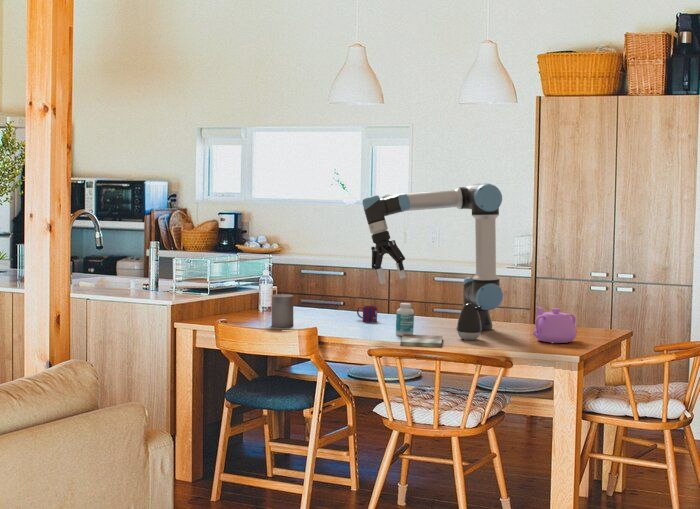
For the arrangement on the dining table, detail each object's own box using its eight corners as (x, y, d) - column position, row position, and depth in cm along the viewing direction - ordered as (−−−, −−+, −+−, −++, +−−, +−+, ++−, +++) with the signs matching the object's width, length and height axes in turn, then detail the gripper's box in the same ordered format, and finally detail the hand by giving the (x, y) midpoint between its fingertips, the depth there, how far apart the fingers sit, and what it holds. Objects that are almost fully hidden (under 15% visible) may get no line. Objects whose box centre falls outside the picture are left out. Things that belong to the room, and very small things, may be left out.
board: (442, 339, 387) (442, 335, 387) (441, 347, 367) (441, 343, 367) (403, 337, 389) (403, 334, 389) (400, 345, 369) (400, 341, 369)
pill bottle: (400, 337, 391) (400, 304, 390) (392, 334, 398) (393, 302, 397) (416, 336, 394) (417, 304, 393) (408, 333, 401) (409, 302, 400)
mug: (372, 322, 432) (372, 308, 432) (353, 320, 438) (354, 306, 438) (379, 321, 438) (380, 306, 438) (361, 319, 444) (362, 304, 443)
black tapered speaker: (475, 342, 382) (476, 305, 381) (452, 339, 387) (453, 303, 386) (485, 339, 390) (486, 302, 389) (462, 336, 396) (464, 300, 395)
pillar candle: (286, 323, 422) (286, 290, 421) (297, 326, 414) (297, 292, 413) (267, 325, 417) (267, 291, 416) (278, 328, 409) (278, 294, 408)
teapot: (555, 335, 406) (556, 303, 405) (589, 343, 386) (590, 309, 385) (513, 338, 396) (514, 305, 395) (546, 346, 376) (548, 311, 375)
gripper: (355, 239, 402) (368, 287, 402) (390, 227, 382) (404, 278, 382) (369, 236, 407) (382, 283, 406) (404, 224, 387) (418, 274, 386)
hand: (393, 281), depth 394 cm, fingers open, 13 cm apart
